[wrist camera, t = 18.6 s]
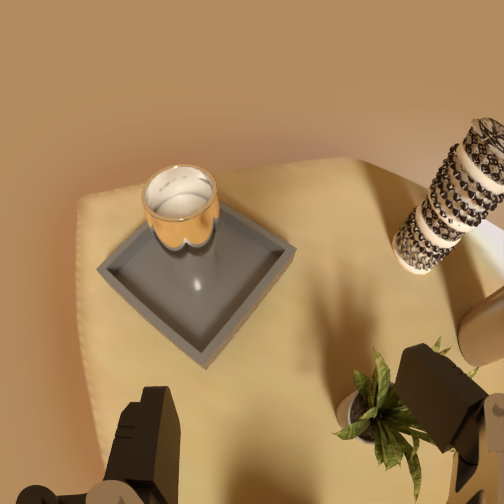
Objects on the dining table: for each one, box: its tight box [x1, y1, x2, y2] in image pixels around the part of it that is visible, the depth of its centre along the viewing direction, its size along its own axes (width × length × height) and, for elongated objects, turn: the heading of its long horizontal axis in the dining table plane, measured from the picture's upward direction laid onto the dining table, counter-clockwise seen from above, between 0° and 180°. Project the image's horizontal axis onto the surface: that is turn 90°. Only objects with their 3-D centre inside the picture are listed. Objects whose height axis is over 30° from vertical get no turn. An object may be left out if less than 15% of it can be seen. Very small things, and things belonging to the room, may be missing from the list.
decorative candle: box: [392, 118, 504, 275], centre depth 31 cm, size 9×9×25 cm
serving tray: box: [96, 200, 297, 370], centre depth 37 cm, size 18×18×4 cm
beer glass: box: [142, 164, 220, 292], centre depth 31 cm, size 7×7×15 cm
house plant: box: [332, 337, 479, 503], centre depth 22 cm, size 14×14×16 cm
